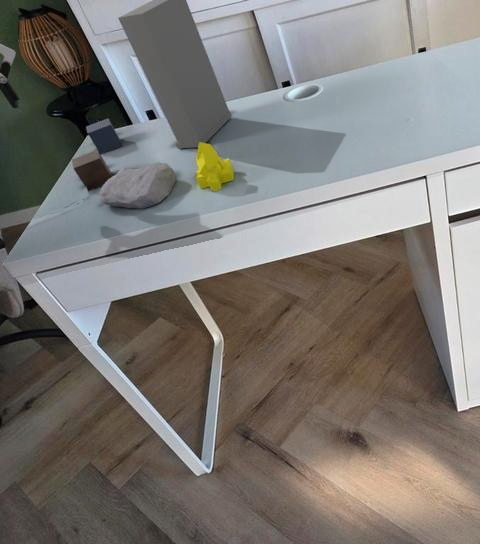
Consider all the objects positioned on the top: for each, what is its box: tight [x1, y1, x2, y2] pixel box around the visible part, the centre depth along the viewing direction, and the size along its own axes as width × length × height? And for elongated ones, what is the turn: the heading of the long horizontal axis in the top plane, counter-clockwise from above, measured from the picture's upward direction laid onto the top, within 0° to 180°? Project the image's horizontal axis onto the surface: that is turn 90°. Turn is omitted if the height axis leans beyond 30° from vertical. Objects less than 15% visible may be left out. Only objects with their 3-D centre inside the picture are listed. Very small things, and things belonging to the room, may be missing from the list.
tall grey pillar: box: [117, 0, 233, 150], centre depth 96 cm, size 14×6×25 cm, turn 165°
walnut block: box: [71, 149, 113, 192], centre depth 94 cm, size 5×5×5 cm
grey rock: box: [98, 161, 178, 210], centre depth 86 cm, size 12×5×10 cm
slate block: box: [85, 117, 123, 155], centre depth 107 cm, size 5×5×5 cm
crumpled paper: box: [195, 142, 235, 193], centre depth 84 cm, size 6×8×8 cm
